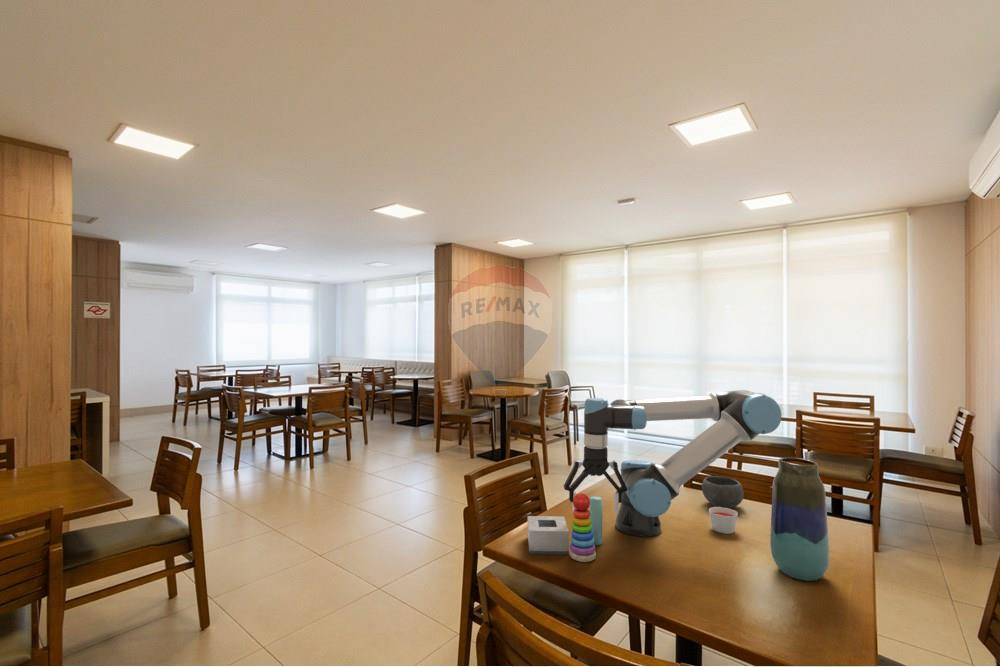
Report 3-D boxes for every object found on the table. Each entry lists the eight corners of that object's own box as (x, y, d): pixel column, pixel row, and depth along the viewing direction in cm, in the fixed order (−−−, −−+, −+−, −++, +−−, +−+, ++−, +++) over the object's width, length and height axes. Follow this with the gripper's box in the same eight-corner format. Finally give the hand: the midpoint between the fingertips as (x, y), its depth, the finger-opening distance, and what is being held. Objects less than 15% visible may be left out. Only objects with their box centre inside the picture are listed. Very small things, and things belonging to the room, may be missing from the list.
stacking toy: (597, 553, 139) (597, 491, 140) (594, 565, 132) (594, 499, 132) (571, 549, 142) (571, 488, 142) (567, 560, 134) (567, 496, 135)
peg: (601, 539, 149) (600, 496, 150) (603, 545, 145) (603, 500, 146) (588, 539, 149) (588, 496, 150) (591, 544, 145) (590, 500, 146)
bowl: (751, 512, 174) (751, 486, 174) (712, 512, 174) (712, 486, 174) (732, 499, 189) (732, 475, 189) (696, 499, 189) (695, 475, 189)
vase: (832, 592, 118) (830, 470, 119) (769, 577, 125) (768, 463, 126) (827, 570, 130) (826, 459, 130) (771, 557, 137) (770, 453, 138)
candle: (731, 537, 151) (731, 518, 151) (704, 529, 158) (704, 511, 158) (742, 530, 157) (742, 512, 157) (715, 522, 164) (715, 505, 164)
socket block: (563, 537, 150) (563, 516, 151) (568, 554, 138) (568, 531, 139) (527, 537, 151) (527, 516, 151) (529, 554, 139) (529, 530, 139)
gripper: (631, 444, 152) (630, 508, 151) (556, 443, 152) (555, 507, 152) (637, 449, 144) (637, 517, 144) (558, 448, 145) (557, 515, 144)
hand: (595, 512), depth 148 cm, fingers open, 13 cm apart
